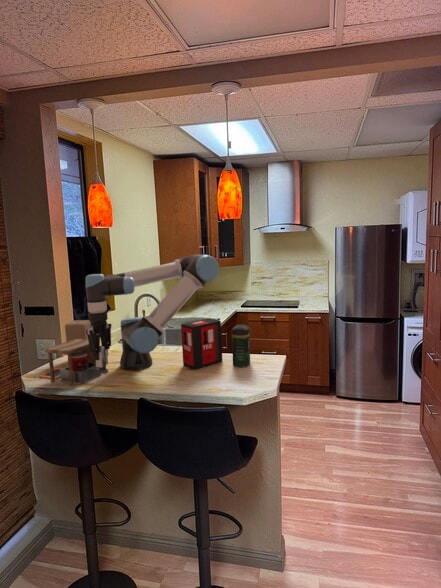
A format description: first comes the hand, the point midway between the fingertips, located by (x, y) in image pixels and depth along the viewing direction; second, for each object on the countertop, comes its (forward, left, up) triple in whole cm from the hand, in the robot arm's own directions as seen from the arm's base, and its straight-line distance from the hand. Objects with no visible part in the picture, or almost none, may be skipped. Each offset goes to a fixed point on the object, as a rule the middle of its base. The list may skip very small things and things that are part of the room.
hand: (102, 365), depth 169 cm
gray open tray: (+8, 0, -7) cm, 10 cm away
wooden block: (+30, -20, -7) cm, 37 cm away
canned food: (+13, 0, -7) cm, 15 cm away
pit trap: (+27, 0, -7) cm, 28 cm away
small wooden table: (+16, 0, -7) cm, 17 cm away
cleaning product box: (-31, -33, -7) cm, 46 cm away
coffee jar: (-49, -37, -7) cm, 62 cm away
